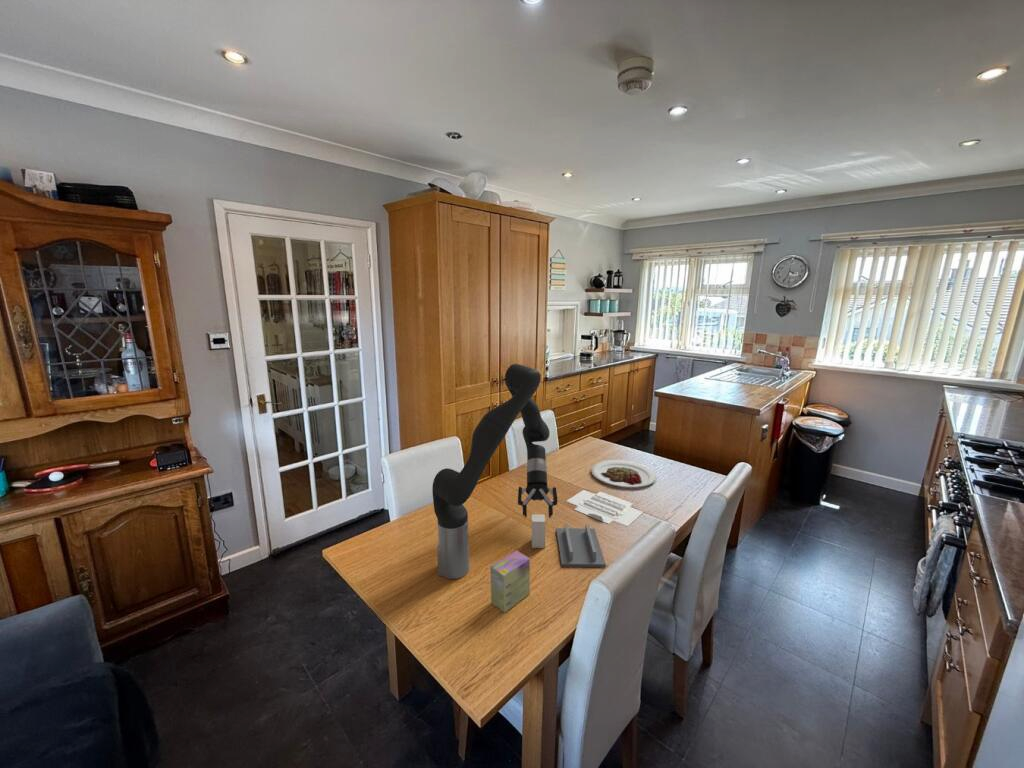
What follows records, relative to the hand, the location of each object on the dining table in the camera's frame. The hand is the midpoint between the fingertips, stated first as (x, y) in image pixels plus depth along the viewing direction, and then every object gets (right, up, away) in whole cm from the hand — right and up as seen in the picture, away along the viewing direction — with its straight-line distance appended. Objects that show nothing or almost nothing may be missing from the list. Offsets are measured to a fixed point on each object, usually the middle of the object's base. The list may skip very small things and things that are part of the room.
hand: (537, 516), depth 142 cm
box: (-10, -15, -27) cm, 32 cm away
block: (0, -9, -1) cm, 9 cm away
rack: (+14, -9, -4) cm, 17 cm away
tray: (+29, -4, +23) cm, 37 cm away
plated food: (+44, +3, +51) cm, 68 cm away
